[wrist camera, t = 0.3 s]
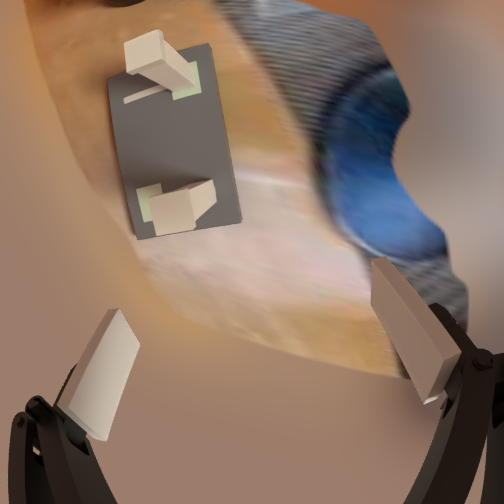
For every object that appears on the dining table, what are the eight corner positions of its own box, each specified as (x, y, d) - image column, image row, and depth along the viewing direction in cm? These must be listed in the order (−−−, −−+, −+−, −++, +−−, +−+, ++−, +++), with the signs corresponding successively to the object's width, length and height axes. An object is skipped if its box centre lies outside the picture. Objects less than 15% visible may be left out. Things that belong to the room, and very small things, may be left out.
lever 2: (188, 181, 35) (147, 197, 23) (214, 176, 34) (183, 189, 22) (193, 207, 36) (156, 236, 24) (219, 203, 35) (192, 229, 23)
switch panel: (114, 81, 32) (107, 78, 30) (211, 47, 30) (208, 42, 28) (143, 236, 40) (137, 240, 39) (242, 219, 38) (240, 223, 36)
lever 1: (169, 72, 29) (124, 42, 17) (194, 64, 29) (158, 28, 17) (172, 94, 30) (126, 72, 19) (198, 87, 30) (161, 58, 18)
